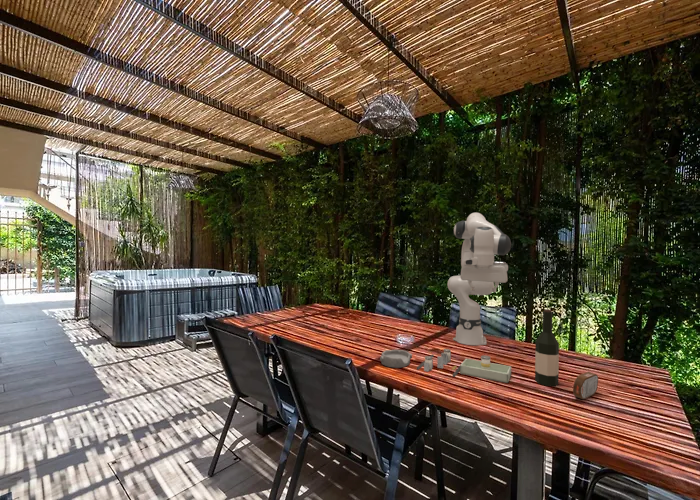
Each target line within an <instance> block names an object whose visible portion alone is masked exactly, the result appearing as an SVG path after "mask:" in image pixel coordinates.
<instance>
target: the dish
mask: <svg viewBox="0 0 700 500" xmlns="http://www.w3.org/2000/svg"><path fill="white" fill-rule="evenodd" d="M412 358H413V354H412V353H410V352H409V351H406V350H403V349H389V350H388V349H387V350H386V349H385V350H384V351H382V353H381V356H380V357H379V361H380V362H381V364H382V365H383V366H385V367H388V368H393V369H394V368H397V369H400V368H406V367H407V366H409V365H410V363H411V359H412Z"/></svg>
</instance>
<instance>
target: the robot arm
mask: <svg viewBox="0 0 700 500" xmlns="http://www.w3.org/2000/svg"><path fill="white" fill-rule="evenodd" d="M453 235H454V237H455V238H456V239H463V242H462V246H461V255H460V258H461V259H460V265H461V269H460V274H459V275H453V276H450V277H449V279H448V280H447V288H448V291H450V293H452V295H454V297H456V300H457V301H458V305H459V318H458V325H457V326H456V330H455V336H454V337H453V339H452V340H453V341H455V342H457V343H459V344H461V345H468V346H482V345H483V346H486V345H487V337H486V336H485V335H484V334H483V333H484V331H483V327H482V326H481V325H482V320H481V306H480V304H479V303H478V302H476V301H475V300H473V299H472V298H470V297H469V296H470V295H473V296H475V295H476V296H487V295H491V294H492V293H496V292H497V288H498V287H499V284H500V283H501V284H504V283H505V284H506V283H507V282H508V271H509V265H508V263H506V262H505V261H495V255H498V256H505V255H507V254H509V252H510V251H511V249H512V242H511V239H510V237H509V236H508V235H507V234H505V233H504V232H503V231H502V230H501V229H500V228H499V227H498V226H497V225H495V224H493V223H491V222H489V221H488V220H486V217H485V216H484V215H483V214H482V213H480V212H472V213H470V214H469V215H468V216H467V218H466V220H464V219H463V220H461V221H457V222H456V223H455V224H454V227H453Z"/></svg>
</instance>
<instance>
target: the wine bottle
mask: <svg viewBox="0 0 700 500" xmlns="http://www.w3.org/2000/svg"><path fill="white" fill-rule="evenodd" d="M534 350H535V351H534V353H535V356H534V357H535V362H534V381H535V382H536V383H537V384H539V385H542V386H545V387H557V386H558V385H559V371H560V370H559V366H560V365H559V361H560V342H559V341H558V340H557V338H556V337H555V335H554V332H553V311H552V310H551V309H547V308H545V309H544V310H543V311H542V331H541V333H540V334H539V335H538V337H537V338H536V340H535V349H534Z"/></svg>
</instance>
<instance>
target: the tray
mask: <svg viewBox="0 0 700 500" xmlns="http://www.w3.org/2000/svg"><path fill="white" fill-rule="evenodd" d="M459 366H460V371H459V374H461V375H465V376H471V377H475V378H479V379H486V380H490V381H495V382H500V383H505V384H509V381H510V379H511V377H512V366H511V365H504V364H499V363H494V362H490V370H485V369H481V360H476V359H471V358H465V359H464V360H463V361H462V362H461V363H460V365H459Z"/></svg>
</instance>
